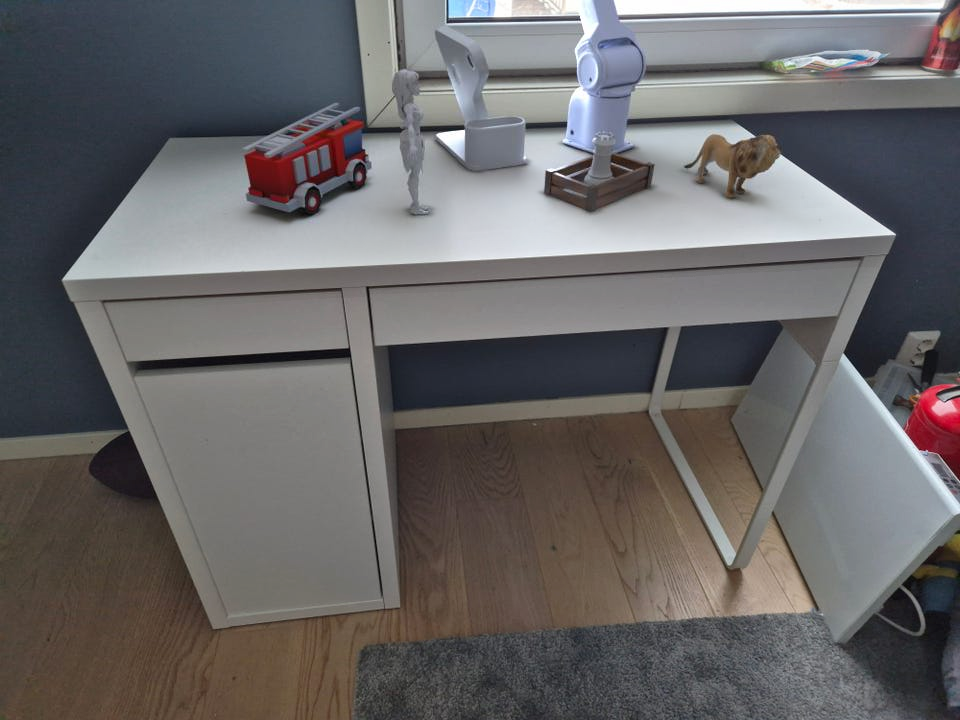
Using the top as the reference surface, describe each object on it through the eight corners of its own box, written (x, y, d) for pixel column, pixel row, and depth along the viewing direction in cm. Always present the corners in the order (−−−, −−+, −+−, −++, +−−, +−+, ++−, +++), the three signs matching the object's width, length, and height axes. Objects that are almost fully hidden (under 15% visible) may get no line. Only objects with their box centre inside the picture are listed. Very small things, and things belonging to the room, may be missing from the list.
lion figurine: (773, 199, 93) (792, 136, 88) (749, 207, 91) (767, 143, 85) (694, 167, 103) (707, 108, 97) (670, 174, 100) (682, 114, 95)
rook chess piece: (615, 186, 96) (623, 131, 92) (610, 197, 93) (618, 141, 88) (586, 182, 98) (592, 127, 93) (579, 193, 94) (585, 137, 89)
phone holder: (530, 164, 103) (537, 39, 92) (470, 172, 100) (471, 45, 89) (487, 131, 116) (489, 18, 105) (433, 137, 113) (429, 22, 102)
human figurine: (432, 230, 84) (427, 82, 73) (403, 232, 83) (394, 83, 73) (423, 193, 93) (417, 58, 83) (397, 195, 93) (387, 59, 82)
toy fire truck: (378, 178, 98) (373, 109, 92) (294, 225, 84) (281, 149, 78) (331, 167, 101) (322, 100, 95) (243, 211, 88) (226, 136, 82)
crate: (543, 192, 94) (545, 170, 92) (604, 170, 102) (607, 148, 100) (591, 212, 89) (593, 188, 87) (651, 186, 96) (655, 164, 94)
